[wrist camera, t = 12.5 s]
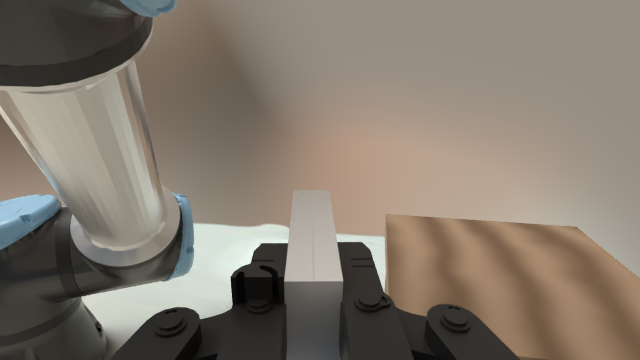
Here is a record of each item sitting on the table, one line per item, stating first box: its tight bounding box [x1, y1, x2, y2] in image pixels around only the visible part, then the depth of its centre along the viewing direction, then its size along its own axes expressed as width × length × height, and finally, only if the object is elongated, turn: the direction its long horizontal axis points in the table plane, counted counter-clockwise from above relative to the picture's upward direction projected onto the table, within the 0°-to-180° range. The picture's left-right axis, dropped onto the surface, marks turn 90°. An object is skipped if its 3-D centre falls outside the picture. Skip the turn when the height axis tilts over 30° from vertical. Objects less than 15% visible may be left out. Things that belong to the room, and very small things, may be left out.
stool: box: [385, 214, 640, 360], centre depth 39 cm, size 24×24×20 cm
